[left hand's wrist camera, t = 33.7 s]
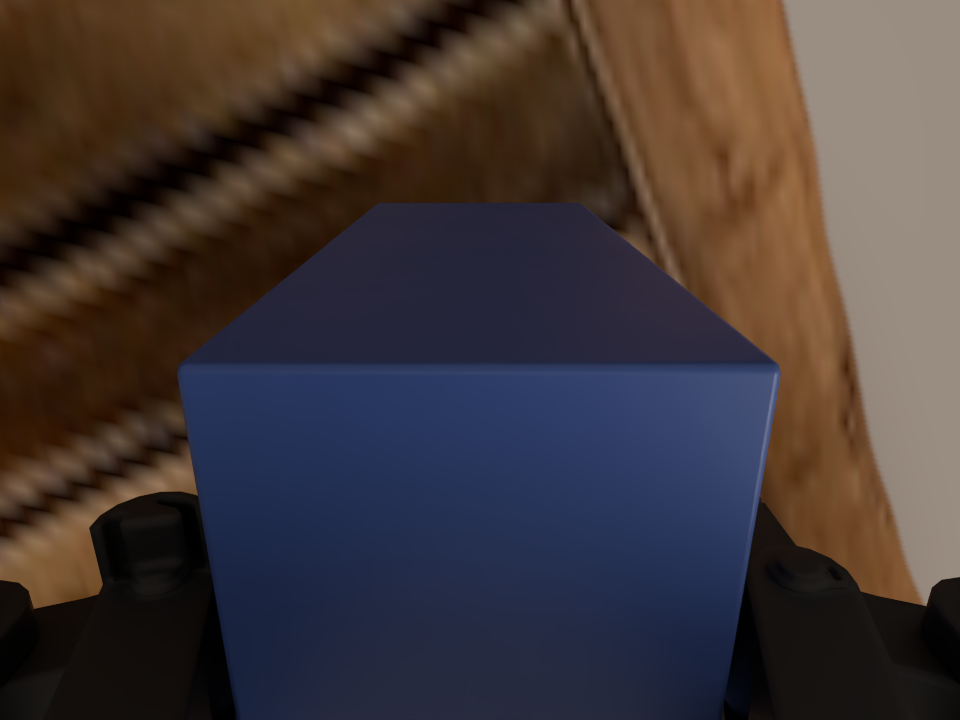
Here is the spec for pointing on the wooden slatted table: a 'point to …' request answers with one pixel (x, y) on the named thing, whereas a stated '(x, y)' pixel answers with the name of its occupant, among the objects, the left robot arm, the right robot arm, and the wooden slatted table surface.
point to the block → (478, 475)
